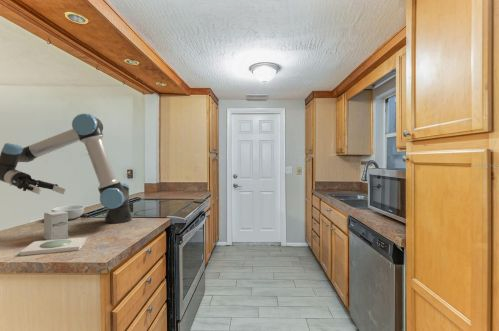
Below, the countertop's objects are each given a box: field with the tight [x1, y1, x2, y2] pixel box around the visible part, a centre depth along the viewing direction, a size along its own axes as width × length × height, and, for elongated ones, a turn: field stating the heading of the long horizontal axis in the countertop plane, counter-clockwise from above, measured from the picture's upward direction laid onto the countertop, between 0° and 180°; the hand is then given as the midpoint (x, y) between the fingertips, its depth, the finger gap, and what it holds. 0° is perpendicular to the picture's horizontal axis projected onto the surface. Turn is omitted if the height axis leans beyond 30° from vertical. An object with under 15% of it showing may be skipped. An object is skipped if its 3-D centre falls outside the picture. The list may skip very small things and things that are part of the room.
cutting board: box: [19, 236, 87, 256], centre depth 114 cm, size 20×14×2 cm
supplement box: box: [43, 211, 69, 241], centre depth 127 cm, size 7×7×13 cm
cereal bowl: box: [51, 205, 85, 221], centre depth 168 cm, size 17×17×7 cm
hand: (52, 191), depth 131 cm, fingers open, 13 cm apart
